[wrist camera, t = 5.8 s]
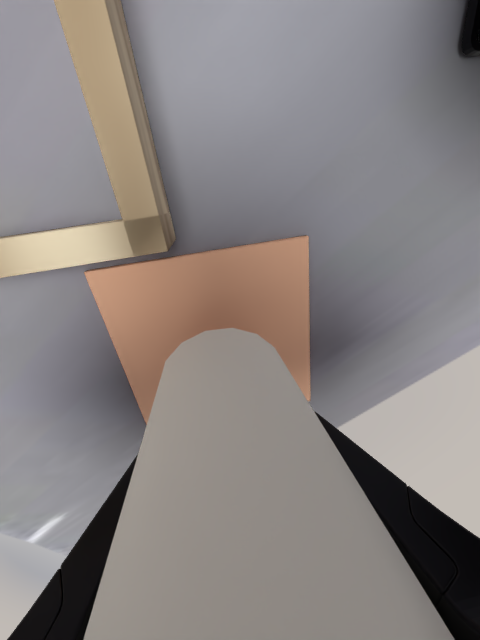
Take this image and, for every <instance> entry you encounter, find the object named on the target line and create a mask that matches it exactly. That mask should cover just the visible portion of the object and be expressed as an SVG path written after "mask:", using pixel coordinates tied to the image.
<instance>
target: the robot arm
mask: <svg viewBox="0 0 480 640" xmlns="http://www.w3.org/2000/svg"><path fill="white" fill-rule="evenodd" d="M477 33H478V34H479V40H478V41H477ZM462 50H463V53H464V54H465V55H466V56H476V55H480V0H469V6H468V11H467V16H466V22H465V27H464V33H463V38H462ZM315 414H316V415H317V417H318V419H319V420H320V422H321V424H322V425H323V427H324V428H325V430H326V432H327V433H328V435H329V437H330V438H331V440H332V441H333V443H334V445H335V446H336V448H337V450H338V451H339V453H340V454H341V456H342V458H343V459H344V461H345V462H346V464H347V466H348V467H349V469H350V471H351V472H352V474H353V475H354V477H355V479H356V480H357V482H358V484H359V485H360V487H361V488H362V490H363V492H364V493H365V495H366V497H367V498H368V500H369V501H370V503H371V505H372V506H373V508H374V510H375V511H376V513H377V514H378V516H379V518H380V519H381V521H382V523H383V524H384V526H385V527H386V529H387V531H388V532H389V534H390V536H391V537H392V539H393V540H394V542H395V544H396V545H397V547H398V549H399V550H400V552H401V553H402V555H403V557H404V558H405V560H406V562H407V563H408V565H409V566H410V568H411V570H412V571H413V573H414V574H415V576H416V578H417V579H418V581H419V583H420V584H421V586H422V587H423V589H424V591H425V592H426V594H427V596H428V597H429V599H430V600H431V602H432V604H433V605H434V607H435V609H436V610H437V612H438V613H439V615H440V617H441V618H442V620H443V622H444V623H445V625H446V626H447V628H448V630H449V631H450V633H451V635H452V636H453V638H454V639H455V640H480V538H478V537H477V536H476V535H474V534H473V533H471V532H470V531H468V530H467V529H465V528H464V527H463V526H461V525H459V524H458V523H457V522H456V521H454V520H453V519H451V518H450V517H449V516H447V515H446V514H444V513H443V512H441V511H440V510H439V509H438V508H436V507H435V506H434V505H432V504H431V503H430V502H428V501H427V500H426V499H424V498H423V497H422V496H421V495H419V494H418V493H417V492H416V491H414V490H413V489H412V488H411V487H409V486H407V485H406V483H404V482H403V481H402V480H400V479H399V478H398V477H397V476H396V475H394V474H393V473H392V472H391V471H389V470H388V469H387V468H385V467H384V466H383V465H382V464H380V463H379V462H378V461H377V460H375V459H374V458H373V457H372V456H370V455H369V454H368V453H367V452H365V451H364V450H363V449H362V448H360V447H359V446H358V445H356V444H355V443H354V442H353V441H352V440H350V439H349V438H348V437H347V436H345V435H344V434H343V433H342V432H340V431H339V430H338V429H337V428H335V427H334V426H333V425H332V424H330V423H329V422H328V421H327V420H325V419H324V418H323V417H321V416H320V415H319V414H318V413H316V412H315ZM137 456H138V455H137ZM137 456H136V458H135V459H134V461H133V462H132V463H131V465H130V466H129V468H128V469H127V471H126V472H125V474H124V475H123V476H122V478H121V479H120V481H119V482H118V484H117V485H116V487H115V488H114V489H113V491H112V492H111V494H110V495H109V497H108V498H107V500H106V501H105V503H104V504H103V505H102V507H101V508H100V510H99V511H98V513H97V514H96V516H95V517H94V518H93V520H92V521H91V523H90V524H89V526H88V527H87V529H86V530H85V531H84V533H83V534H82V536H81V537H80V539H79V540H78V542H77V543H76V544H75V546H74V547H73V549H72V550H71V552H70V553H69V555H68V556H67V557H66V559H65V560H64V562H63V563H62V565H61V569H58V570H57V572H56V573H55V575H54V576H53V577H52V579H51V580H50V582H49V583H48V585H47V586H46V588H45V589H44V590H43V592H42V593H41V595H40V596H39V597H38V599H37V600H36V602H35V603H34V604H33V606H32V607H31V609H30V610H29V611H28V613H27V614H26V616H25V617H24V618H23V620H22V621H21V622H20V624H19V625H18V626H17V628H16V629H15V630H14V632H13V633H12V634H11V635H10V637H9V638H8V639H7V640H83V639H84V636H85V632H86V629H87V626H88V622H89V619H90V616H91V612H92V609H93V605H94V602H95V599H96V595H97V592H98V588H99V585H100V582H101V578H102V575H103V572H104V568H105V565H106V561H107V558H108V555H109V551H110V548H111V544H112V541H113V538H114V534H115V531H116V528H117V524H118V521H119V517H120V514H121V511H122V507H123V504H124V500H125V497H126V494H127V490H128V487H129V484H130V480H131V477H132V473H133V470H134V467H135V463H136V460H137Z"/></svg>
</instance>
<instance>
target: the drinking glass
mask: <svg viewBox="0 0 480 640" xmlns="http://www.w3.org/2000/svg"><path fill="white" fill-rule="evenodd" d="M83 640H455V639H454V638H453V636H452V635H451V633H450V631H449V630H448V628H447V626H446V625H445V623H444V622H443V620H442V618H441V617H440V615H439V613H438V612H437V610H436V609H435V607H434V605H433V604H432V602H431V600H430V599H429V597H428V596H427V594H426V592H425V591H424V589H423V587H422V586H421V584H420V583H419V581H418V579H417V578H416V576H415V574H414V573H413V571H412V570H411V568H410V566H409V565H408V563H407V562H406V560H405V558H404V557H403V555H402V553H401V552H400V550H399V549H398V547H397V545H396V544H395V542H394V540H393V539H392V537H391V536H390V534H389V532H388V531H387V529H386V527H385V526H384V524H383V523H382V521H381V519H380V518H379V516H378V514H377V513H376V511H375V510H374V508H373V506H372V505H371V503H370V501H369V500H368V498H367V497H366V495H365V493H364V492H363V490H362V488H361V487H360V485H359V484H358V482H357V480H356V479H355V477H354V475H353V474H352V472H351V471H350V469H349V467H348V466H347V464H346V462H345V461H344V459H343V458H342V456H341V454H340V453H339V451H338V450H337V448H336V446H335V445H334V443H333V441H332V440H331V438H330V437H329V435H328V433H327V432H326V430H325V428H324V427H323V425H322V424H321V422H320V420H319V419H318V417H317V415H316V414H315V412H314V411H313V409H312V407H311V406H310V404H309V402H308V401H307V399H306V398H305V396H304V394H303V393H302V391H301V389H300V388H299V386H298V385H297V383H296V381H295V380H294V378H293V376H292V375H291V373H290V372H289V370H288V368H287V367H286V365H285V363H284V362H283V360H282V359H281V357H280V355H279V354H278V352H277V351H276V349H275V347H274V346H272V345H271V344H270V343H268V342H267V341H266V340H264V339H263V338H262V337H260V336H259V335H258V334H255V333H251V332H247V331H243V330H239V329H236V328H226V329H217V330H208V331H204V332H202V333H200V334H198V335H196V336H194V337H192V338H190V339H188V340H186V341H184V342H182V343H181V344H180V345H179V346H178V347H177V348H176V350H175V351H174V352H173V353H172V354H171V355H170V356H169V358H168V359H167V360H166V361H165V365H164V368H163V372H162V375H161V379H160V382H159V385H158V389H157V392H156V396H155V399H154V402H153V406H152V409H151V412H150V416H149V419H148V423H147V426H146V429H145V433H144V436H143V440H142V443H141V446H140V450H139V453H138V456H137V460H136V463H135V467H134V470H133V473H132V477H131V480H130V484H129V487H128V490H127V494H126V497H125V500H124V504H123V507H122V511H121V514H120V517H119V521H118V524H117V528H116V531H115V534H114V538H113V541H112V544H111V548H110V551H109V555H108V558H107V561H106V565H105V568H104V572H103V575H102V578H101V582H100V585H99V588H98V592H97V595H96V599H95V602H94V605H93V609H92V612H91V616H90V619H89V622H88V626H87V629H86V632H85V636H84V639H83Z"/></svg>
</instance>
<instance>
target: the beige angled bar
mask: <svg viewBox="0 0 480 640" xmlns="http://www.w3.org/2000/svg"><path fill="white" fill-rule="evenodd" d="M54 2H55V5H56V9H57V12H58V15H59V18H60V21H61V25H62V28H63V31H64V34H65V37H66V41H67V44H68V47H69V50H70V53H71V57H72V60H73V63H74V66H75V69H76V73H77V76H78V79H79V82H80V85H81V89H82V92H83V95H84V98H85V101H86V105H87V108H88V111H89V114H90V117H91V121H92V124H93V127H94V130H95V133H96V137H97V140H98V143H99V146H100V149H101V153H102V156H103V159H104V162H105V165H106V169H107V172H108V175H109V178H110V181H111V185H112V188H113V191H114V194H115V197H116V201H117V204H118V207H119V210H120V213H121V217H122V219H120V220H114V221H107V222H100V223H93V224H86V225H80V226H73V227H66V228H59V229H53V230H46V231H39V232H32V233H25V234H19V235H12V236H5V237H0V278H2V277H9V276H15V275H21V274H28V273H34V272H40V271H47V270H53V269H59V268H66V267H72V266H78V265H85V264H91V263H97V262H104V261H110V260H116V259H122V258H129V257H135V256H141V255H148V254H154V253H160V252H167V251H168V250H169V249H170V247H171V246H172V244H173V243H174V241H175V240H176V236H175V232H174V228H173V223H172V219H171V215H170V210H169V206H168V202H167V198H166V193H165V189H164V185H163V180H162V176H161V172H160V167H159V163H158V159H157V155H156V150H155V146H154V142H153V137H152V133H151V129H150V125H149V120H148V116H147V112H146V107H145V103H144V99H143V94H142V90H141V86H140V82H139V77H138V73H137V69H136V64H135V60H134V56H133V52H132V47H131V43H130V39H129V34H128V30H127V26H126V22H125V17H124V13H123V9H122V4H121V0H54Z"/></svg>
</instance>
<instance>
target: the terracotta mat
mask: <svg viewBox="0 0 480 640" xmlns="http://www.w3.org/2000/svg"><path fill="white" fill-rule="evenodd" d="M84 274H85V276H86V278H87V281H88V283H89V286H90V288H91V291H92V293H93V296H94V298H95V300H96V303H97V305H98V308H99V310H100V313H101V315H102V317H103V320H104V322H105V325H106V327H107V330H108V332H109V335H110V337H111V339H112V342H113V344H114V347H115V349H116V352H117V354H118V357H119V359H120V361H121V364H122V366H123V369H124V371H125V374H126V376H127V378H128V381H129V383H130V386H131V388H132V391H133V393H134V396H135V398H136V400H137V403H138V405H139V408H140V410H141V413H142V415H143V418H144V420H145V422H146V425H147V423H148V419H149V416H150V412H151V409H152V406H153V402H154V399H155V396H156V392H157V389H158V385H159V382H160V379H161V375H162V372H163V368H164V365H165V361H166V360H167V359H168V358H169V356H170V355H171V354H172V353H173V352H174V351H175V350H176V348H177V347H178V346H179V345H180V344H181V343H182V342H184V341H186V340H188V339H190V338H192V337H194V336H196V335H198V334H200V333H202V332H204V331H208V330H217V329H226V328H236V329H239V330H243V331H247V332H251V333H255V334H258V335H259V336H260V337H262V338H263V339H264V340H266V341H267V342H268V343H270V344H271V345H272V346H274V347H275V349H276V351H277V352H278V354H279V355H280V357H281V359H282V360H283V362H284V363H285V365H286V367H287V368H288V370H289V372H290V373H291V375H292V376H293V378H294V380H295V381H296V383H297V385H298V386H299V388H300V389H301V391H302V393H303V394H304V396H305V398H306V399H307V401H310V320H309V236H306V235H305V236H298V237H292V238H286V239H280V240H273V241H267V242H261V243H255V244H248V245H242V246H236V247H230V248H223V249H217V250H211V251H205V252H198V253H192V254H186V255H180V256H173V257H167V258H161V259H155V260H149V261H142V262H136V263H130V264H124V265H117V266H111V267H105V268H99V269H92V270H87V271H85V272H84Z"/></svg>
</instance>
